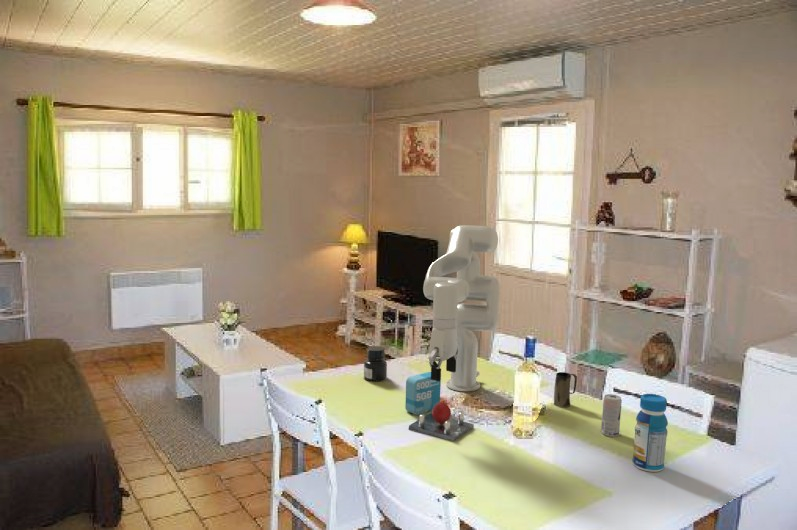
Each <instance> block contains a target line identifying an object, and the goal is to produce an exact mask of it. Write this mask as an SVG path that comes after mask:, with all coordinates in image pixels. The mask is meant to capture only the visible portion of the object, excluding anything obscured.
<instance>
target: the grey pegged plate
mask: <svg viewBox="0 0 797 530" xmlns="http://www.w3.org/2000/svg"><path fill="white" fill-rule="evenodd" d="M464 415H465V414H464V412H462V411H460V412H458V418H457V419H455V418H451V417H450V419H449V420H448V421H445V423H444V424H443V425H441V424H439V423H438V422H436V421H435V420H434V418H433V415H432V412H431V413H430V412H429V413H428V414H426V415H425V414H424V413H421V414H419V419H417V420H416V421H414V422H413V423H411V424H409V425H408V430H410V431H414V432H418V433H421V434H425V435H429V436H432V437H436V438H439V439H444V440H448V441H451V442H455V441H457V440H458V439H460V438H461V437H463V436H464V435H465V434H467V433H468V432H470V431H471V430H472V429H473V428H474V426H475V425H474V424H475V423H474V424H473V423H471V422H465V421H464V420H465V418H464Z"/></svg>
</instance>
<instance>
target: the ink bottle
mask: <svg viewBox="0 0 797 530" xmlns="http://www.w3.org/2000/svg"><path fill="white" fill-rule="evenodd" d="M385 349H386V348H385V347H383V346H378V345H376V346H375V345H374V346H373V345H372V346H368V347H366V359H365V361H364V362H363V379H364V380H365V381H369V382H383V381H385V380H386V379H387V375H388V374H387V373H388V371H387V370H388V369H387V368H388V363H387V361H386V360H385V353H386V351H385Z"/></svg>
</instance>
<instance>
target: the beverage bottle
mask: <svg viewBox="0 0 797 530" xmlns="http://www.w3.org/2000/svg"><path fill="white" fill-rule="evenodd" d="M667 400H668V399H667V398H666V397H665V396H663V395H660V394H656V393H643V394H642V395H641V396H640V399H639V401H640V402H639V406H640V411H639V412H638V413H637V415H636V417H635V421H636V424H635V425H634V441H633V443H634V445H633V457H632V463H633V466H634V467H635V468H637V469H638V470H642V471H645V472H649V473H650V472H651V473H658V472H661V471H663V470H664V468H665V460H666V459H665V458H666V457H665V455H666V447H667V437H668V434H669V433H668V428H667V426H668V424H669V422H668V418H667V416H666V414H665V412H666V410H667V406H668V405H667V404H668V403H667Z"/></svg>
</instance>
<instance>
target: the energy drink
mask: <svg viewBox="0 0 797 530" xmlns="http://www.w3.org/2000/svg"><path fill="white" fill-rule="evenodd" d="M622 401H623V400H622V396H619V395H616V394H612V393H610V394H605V395H604V397H603V401H602V416H601V428H600V431H601V434H602V435H603V436H606V437H610V438H616V437H618V436H619V435H620V428H621V426H620V425H621V415H622V413H621V412H622Z"/></svg>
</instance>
